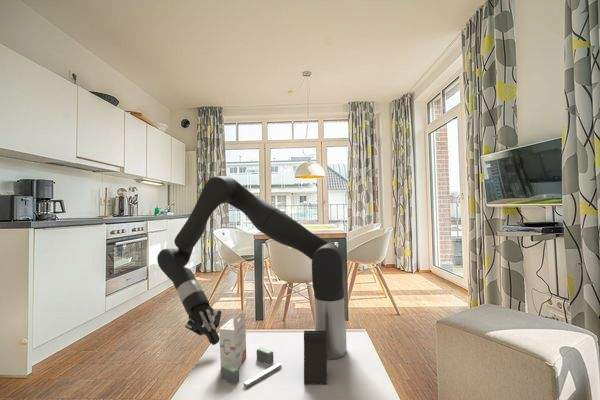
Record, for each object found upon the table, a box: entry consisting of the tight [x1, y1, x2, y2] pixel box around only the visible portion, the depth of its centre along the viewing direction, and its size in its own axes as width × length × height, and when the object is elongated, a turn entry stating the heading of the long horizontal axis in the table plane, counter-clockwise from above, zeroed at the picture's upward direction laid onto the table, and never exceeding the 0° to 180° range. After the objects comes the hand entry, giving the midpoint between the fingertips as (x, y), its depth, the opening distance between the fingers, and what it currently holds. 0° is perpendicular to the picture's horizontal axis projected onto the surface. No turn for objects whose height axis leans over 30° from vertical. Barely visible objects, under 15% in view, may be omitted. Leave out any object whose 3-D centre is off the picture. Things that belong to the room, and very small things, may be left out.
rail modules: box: [220, 347, 275, 385], centre depth 95 cm, size 15×5×3 cm, turn 141°
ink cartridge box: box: [218, 309, 247, 370], centre depth 99 cm, size 9×5×15 cm, turn 168°
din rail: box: [243, 362, 282, 389], centre depth 91 cm, size 13×1×1 cm, turn 141°
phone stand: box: [303, 330, 328, 385], centre depth 91 cm, size 9×6×12 cm, turn 174°
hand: (216, 342), depth 104 cm, fingers closed
